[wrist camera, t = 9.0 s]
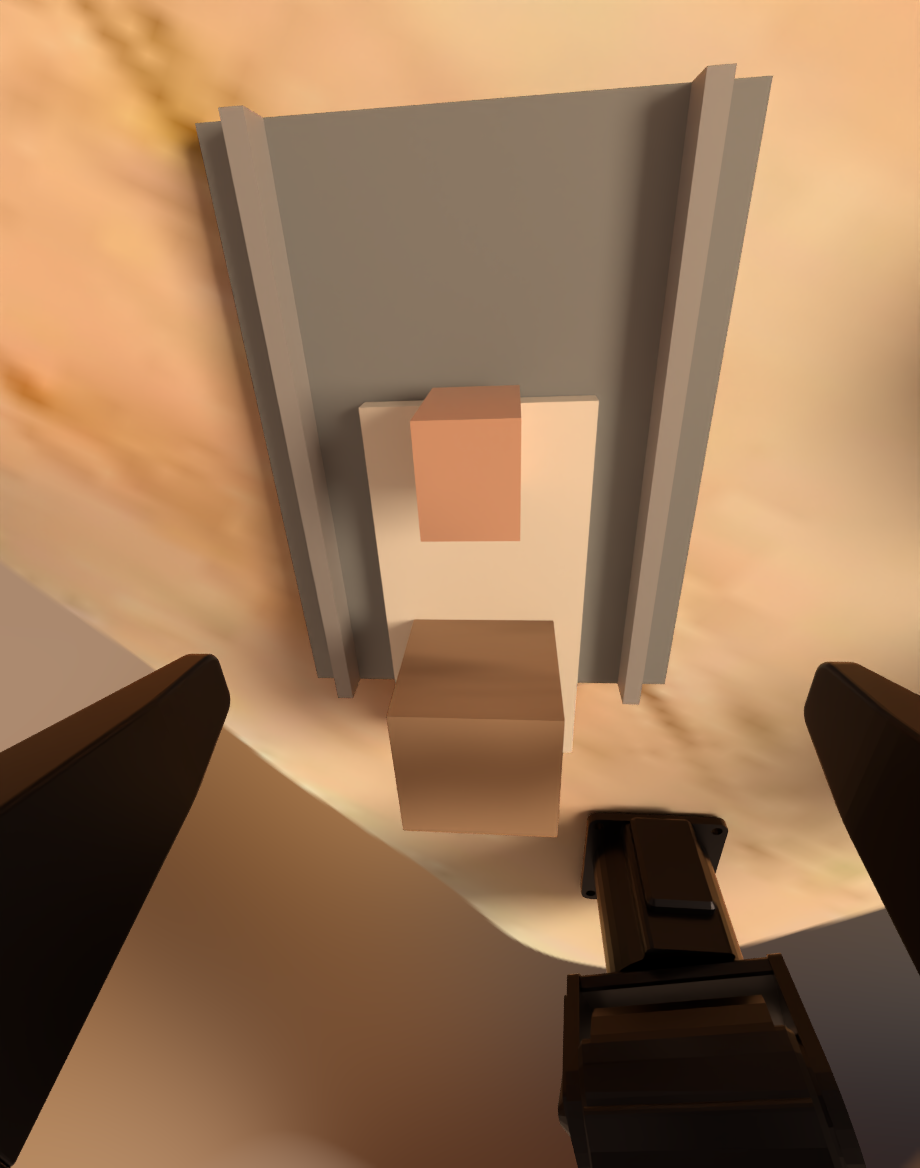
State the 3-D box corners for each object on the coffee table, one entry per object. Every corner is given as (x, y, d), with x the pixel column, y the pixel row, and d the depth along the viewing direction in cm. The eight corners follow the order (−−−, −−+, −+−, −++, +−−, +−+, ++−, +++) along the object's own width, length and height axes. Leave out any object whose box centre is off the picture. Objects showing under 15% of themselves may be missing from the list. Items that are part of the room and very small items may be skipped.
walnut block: (548, 725, 22) (557, 837, 18) (424, 721, 22) (403, 830, 18) (553, 620, 19) (564, 721, 15) (413, 619, 20) (386, 716, 16)
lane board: (658, 668, 22) (672, 705, 20) (325, 662, 24) (308, 696, 22) (756, 87, 13) (796, 58, 12) (213, 131, 15) (169, 112, 13)
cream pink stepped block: (570, 738, 23) (582, 840, 19) (407, 733, 24) (384, 831, 20) (596, 377, 16) (625, 415, 12) (362, 385, 17) (313, 423, 13)
